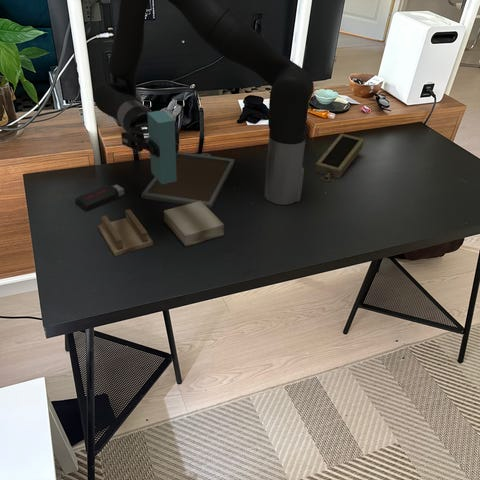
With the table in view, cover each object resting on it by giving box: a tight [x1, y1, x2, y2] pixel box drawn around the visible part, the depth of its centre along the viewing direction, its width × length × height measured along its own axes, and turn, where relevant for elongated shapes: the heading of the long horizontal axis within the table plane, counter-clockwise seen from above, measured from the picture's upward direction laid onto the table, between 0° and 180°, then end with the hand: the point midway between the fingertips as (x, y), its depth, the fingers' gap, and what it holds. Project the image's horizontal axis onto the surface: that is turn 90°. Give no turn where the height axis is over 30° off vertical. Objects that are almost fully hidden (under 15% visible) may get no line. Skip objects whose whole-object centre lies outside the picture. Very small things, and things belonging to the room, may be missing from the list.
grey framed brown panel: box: [140, 151, 236, 209], centre depth 138 cm, size 19×2×30 cm
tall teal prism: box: [147, 109, 177, 184], centre depth 103 cm, size 4×6×14 cm, turn 30°
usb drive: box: [74, 184, 125, 213], centre depth 125 cm, size 5×12×3 cm, turn 136°
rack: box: [97, 208, 154, 257], centre depth 112 cm, size 9×12×4 cm
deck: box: [163, 201, 225, 247], centre depth 116 cm, size 10×12×3 cm
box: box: [315, 133, 365, 183], centre depth 145 cm, size 8×22×5 cm, turn 150°
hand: (167, 150), depth 101 cm, fingers closed on tall teal prism, 3 cm apart
